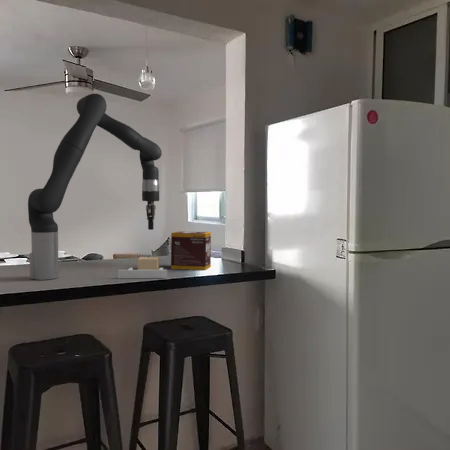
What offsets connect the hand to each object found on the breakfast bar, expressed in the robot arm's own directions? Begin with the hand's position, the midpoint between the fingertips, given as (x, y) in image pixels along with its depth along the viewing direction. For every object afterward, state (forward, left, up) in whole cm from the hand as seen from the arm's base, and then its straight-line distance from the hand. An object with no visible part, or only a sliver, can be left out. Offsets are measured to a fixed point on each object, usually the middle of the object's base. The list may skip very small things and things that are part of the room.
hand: (150, 229), depth 198 cm
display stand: (0, -25, -16) cm, 30 cm away
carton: (0, -10, -16) cm, 19 cm away
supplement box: (+18, -6, -16) cm, 25 cm away
